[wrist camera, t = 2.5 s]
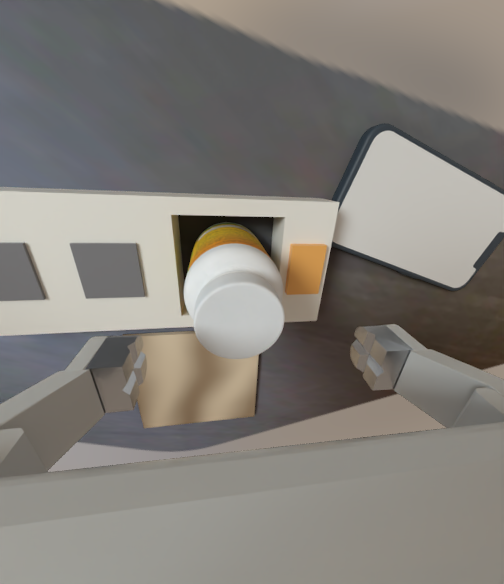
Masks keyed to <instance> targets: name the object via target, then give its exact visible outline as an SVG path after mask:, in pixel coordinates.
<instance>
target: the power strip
mask: <svg viewBox="0 0 504 584" xmlns="http://www.w3.org/2000/svg"><path fill="white" fill-rule="evenodd" d="M339 203H340V202H336V201H331V200H327V199H322V198H301V197H273V196H245V195H217V194H189V193H161V192H133V191H105V190H77V189H49V188H21V187H0V336H8V335H29V334H50V333H71V332H92V331H113V330H134V329H155V328H175V327H194V323H193V322H194V320H193V319H192V318H191V316H190V315H189V313H188V311H187V308H186V305H185V301H184V274H183V262H182V251H181V240H180V229H179V218H178V215H205V216H250V217H274V221H273V233H272V245H271V259H272V261H273V262H274V264H275V265H276V267H277V269H278V271H279V273H280V275H281V279H282V283H283V297H282V302H281V303H282V305H283V308H284V315H285V321H284V322H301V321H317V316H318V311H319V306H320V301H321V296H322V290H323V285H324V280H325V275H326V270H327V265H328V260H329V254H330V249H331V244H332V239H333V234H334V229H335V223H336V218H337V213H338V208H339Z"/></svg>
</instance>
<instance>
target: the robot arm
mask: <svg viewBox="0 0 504 584" xmlns="http://www.w3.org/2000/svg"><path fill="white" fill-rule="evenodd" d="M354 336H355V338H356V340H355V341H354V342H353V343H352V345H351V349H350V356H351V360H352V362H353V364H354V365H355V367H356V368H357V369H359V370H361V371H362V372H363V376H362V377H363V378H364V379H365V381H366V382H367V383H368V385H369V386H370V388H371V389H372V390H389V389H394V391H395V392H397V393H398V394H400V395H401V396H403V397H404V398H405V399H407V400H408V401H410V402H411V403H413V404H414V405H415V406H417V407H418V408H419V409H421V410H422V411H424V412H425V413H427V414H428V415H429V416H431V417H432V418H434V419H435V420H436V421H438V422H439V423H441V424H442V425H444V426H445V427H446V428H444V429H435V430H426V431H417V432H408V433H399V434H390V435H381V436H372V437H363V438H354V439H346V440H336V441H327V442H319V443H309V444H300V445H292V446H282V447H273V448H264V449H255V450H246V451H237V452H228V453H219V454H209V455H201V456H192V457H183V458H173V459H164V460H156V461H147V462H137V463H128V464H120V465H112V466H111V465H110V466H102V467H92V468H83V469H75V470H66V471H56V472H48V470H49V469H50V468H51V467H52V466H53V465H54V464H55V463H56V462H57V461H58V460H59V459H60V458H61V457H62V456H63V455H64V454H65V453H66V452H67V451H68V450H69V449H70V448H71V447H72V446H73V445H74V444H75V443H76V442H77V441H78V440H79V439H80V438H82V437H83V436H84V435H85V434H86V433H87V432H88V431H89V430H90V429H91V428H92V427H93V426H94V425H95V424H96V423H97V422H98V421H99V420H100V419H101V418H102V417H103V416H104V415H105V413H111V412H120V411H129V410H134V407H135V404H136V402H137V399H138V396H139V393H140V392H139V387H138V386H140V385H141V384H142V383H143V382H144V379H145V376H146V370H147V360H146V355H145V354H144V353H143V352H141V350H142V348H143V346H144V344H143V340H142V337H141V336H140V335H135V336H98V337H92V338H90V339H89V340H88V342H87V343H86V344H85V345H84V347H83V348H82V349H81V350H80V352H79V353H78V354H77V355H76V357H75V358H74V359H73V361H72V362H71V363H70V364H69V366H68V367H67V368H66V369H65V371H58V372H56V373H55V374H53V375H51V376H49V377H48V378H46V379H44V380H42V381H40V382H39V383H37V384H35V385H33V386H32V387H30V388H28V389H26V390H24V391H23V392H21V393H19V394H17V395H16V396H14V397H12V398H10V399H8V400H7V401H5V402H3V403H1V404H0V584H504V379H502V378H499V377H497V376H495V375H492V374H490V373H487V372H485V371H483V370H480V369H478V368H475V367H473V366H470V365H468V364H466V363H463V362H461V361H458V360H456V359H454V358H451V357H449V356H446V355H444V354H441V353H439V352H437V351H434V350H432V349H426V348H425V347H424V346H423V345H422V344H420V343H419V342H418V341H417V340H415V339H414V338H413V337H412V336H411V335H409V334H408V333H407V332H406V331H404V330H403V329H402V328H401V327H400V326H398V325H395V324H389V325H379V326H360V327H358V328H357V329H356V331H355V334H354Z"/></svg>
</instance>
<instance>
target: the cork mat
mask: <svg viewBox="0 0 504 584" xmlns="http://www.w3.org/2000/svg"><path fill="white" fill-rule="evenodd" d="M135 335H140V336H141V337H142V340H143V344H144V346H143V348H142V350H141V352H143V353H144V354H145V355H146V360H147V370H146V376H145V379H144V382H143V383H142V384H141V385H140V386H138V387H139V392H140V393H139V396H138V399H137V402H138V406H139V410H140V414H141V418H142V422H143V426H144V428H151V427H160V426H169V425H179V424H188V423H197V422H206V421H216V420H225V419H234V418H243V417H252V416H254V414H255V399H256V385H257V371H258V357H259V354H258V355H256V356H253V357H249V358H244V359H227V358H223V357H220V356H217V355H215V354H213V353H211V352H210V351H208V350H207V349H206V348H204V347H203V345H202V344H201V343H200V342H199V340H198V339H197V336H196V334H195V331H183V332H163V333H143V334H123V336H135Z"/></svg>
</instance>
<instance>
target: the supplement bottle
mask: <svg viewBox="0 0 504 584" xmlns="http://www.w3.org/2000/svg"><path fill="white" fill-rule="evenodd" d="M282 297H283V283H282V279H281V275H280V273H279V271H278V269H277V267H276V265H275V264H274V262H273V261H272V259H271V258H270V256H269V255H268V254H267V252H266V251H265V249H264V248H263V246H262V245H261V243H260V242H259V240H258V239H257V238H256V236H255V235H254V234H253V233H252V232H251V231H250V230H249V229H247V228H246V227H244V226H242V225H240V224H236V223H231V222H224V223H218V224H215V225H212V226H210V227H209V228H207V229H206V230H204V231H203V232H202V233H201V234H200V236H199V237H198V238H197V240H196V242H195V245H194V247H193V250H192V255H191V259H190V264H189V267H188V272H187V275H186V279H185V284H184V301H185V305H186V308H187V311H188V313H189V315H190V316H191V318H192V319H193V320H194V322H193V323H194V330H195V334H196V336H197V339H198V340H199V342H200V343H201V344H202V345H203V347H204V348H206V349H207V350H208V351H210V352H211V353H213V354H215V355H217V356H220V357H223V358H227V359H244V358H249V357H253V356H256V355H258V354H260V353H262V352H264V351H265V350H267V349H268V348H269V347H271V346H272V345H273V344H274V343H275V342H276V340H277V339H278V338H279V336H280V334H281V332H282V330H283V327H284V321H285V315H284V308H283V305H282V303H281V302H282Z"/></svg>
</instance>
